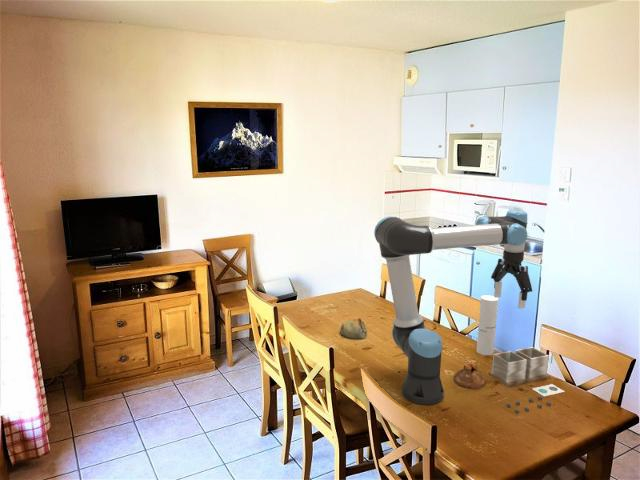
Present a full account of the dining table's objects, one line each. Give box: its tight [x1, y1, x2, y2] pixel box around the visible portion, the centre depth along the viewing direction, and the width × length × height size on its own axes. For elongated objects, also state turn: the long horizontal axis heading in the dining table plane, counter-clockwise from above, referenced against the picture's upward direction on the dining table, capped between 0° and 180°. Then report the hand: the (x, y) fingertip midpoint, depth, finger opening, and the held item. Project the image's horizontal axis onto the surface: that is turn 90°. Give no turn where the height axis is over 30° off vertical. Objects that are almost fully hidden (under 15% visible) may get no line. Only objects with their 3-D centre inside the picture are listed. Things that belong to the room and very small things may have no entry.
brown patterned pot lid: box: [453, 362, 486, 390], centre depth 195 cm, size 12×12×7 cm
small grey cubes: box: [505, 395, 552, 415], centre depth 178 cm, size 15×5×1 cm, turn 111°
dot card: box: [531, 383, 565, 397], centre depth 189 cm, size 10×6×1 cm, turn 111°
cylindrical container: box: [476, 294, 499, 356], centre depth 219 cm, size 7×7×25 cm
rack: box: [488, 346, 551, 388], centre depth 199 cm, size 21×11×9 cm, turn 111°
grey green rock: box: [340, 318, 368, 340], centre depth 239 cm, size 14×12×8 cm
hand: (509, 302), depth 200 cm, fingers open, 13 cm apart
